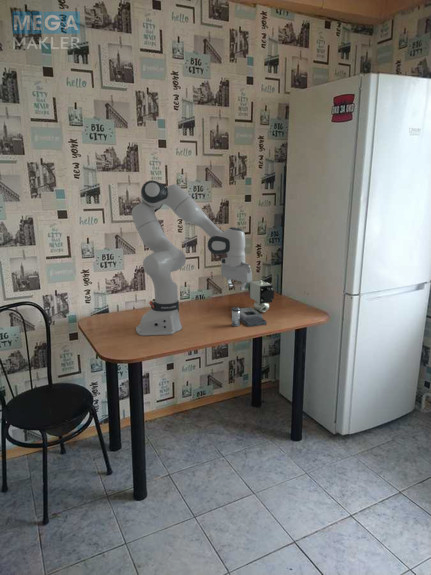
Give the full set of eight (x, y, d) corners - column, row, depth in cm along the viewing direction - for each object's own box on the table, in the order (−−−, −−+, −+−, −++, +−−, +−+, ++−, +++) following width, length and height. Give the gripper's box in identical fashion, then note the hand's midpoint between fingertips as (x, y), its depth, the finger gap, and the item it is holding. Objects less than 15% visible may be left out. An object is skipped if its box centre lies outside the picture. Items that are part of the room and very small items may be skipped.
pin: (233, 327, 208) (233, 310, 206) (230, 324, 212) (230, 307, 210) (241, 326, 209) (241, 309, 207) (238, 323, 214) (238, 306, 211)
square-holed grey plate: (247, 326, 208) (248, 319, 208) (234, 315, 227) (234, 308, 226) (266, 324, 211) (266, 318, 210) (251, 313, 230) (251, 307, 229)
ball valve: (275, 314, 228) (276, 282, 224) (262, 316, 225) (262, 284, 221) (260, 305, 244) (261, 276, 240) (247, 307, 241) (247, 277, 237)
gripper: (255, 263, 197) (255, 291, 200) (228, 257, 213) (228, 283, 216) (245, 264, 193) (244, 293, 196) (218, 259, 209) (219, 285, 212)
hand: (236, 288), depth 206 cm, fingers open, 8 cm apart
